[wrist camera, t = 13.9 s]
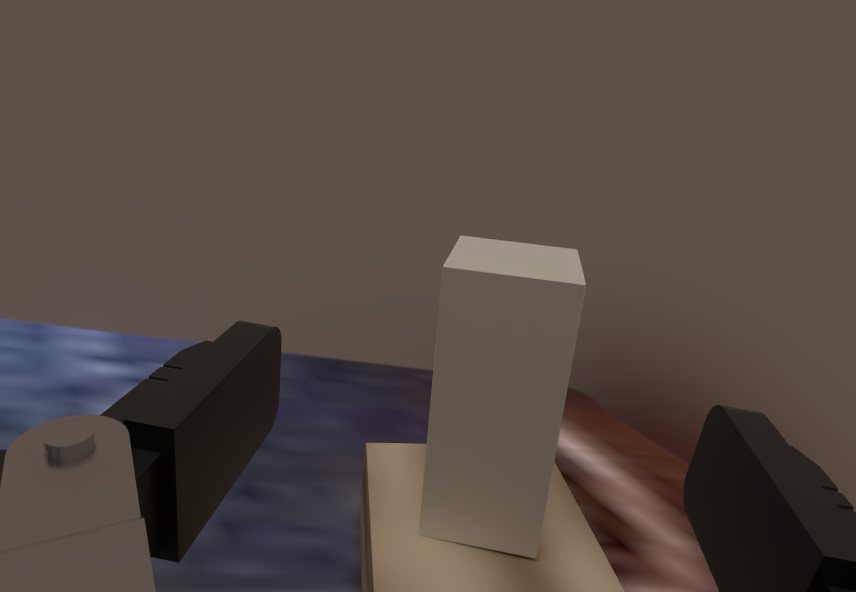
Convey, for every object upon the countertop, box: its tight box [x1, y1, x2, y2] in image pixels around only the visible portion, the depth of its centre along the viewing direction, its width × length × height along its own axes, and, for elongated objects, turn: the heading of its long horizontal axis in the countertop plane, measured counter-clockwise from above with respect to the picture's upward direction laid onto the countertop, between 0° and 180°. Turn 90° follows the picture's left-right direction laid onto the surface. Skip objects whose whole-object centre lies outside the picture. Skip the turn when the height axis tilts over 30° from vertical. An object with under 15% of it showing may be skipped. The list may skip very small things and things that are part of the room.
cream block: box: [419, 236, 586, 558], centre depth 24 cm, size 5×5×12 cm
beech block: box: [360, 443, 625, 592], centre depth 27 cm, size 10×10×5 cm
